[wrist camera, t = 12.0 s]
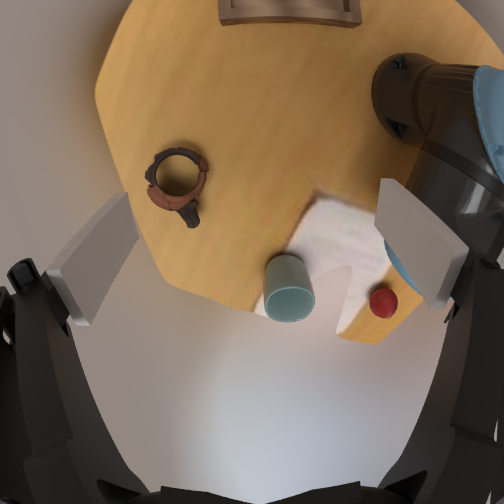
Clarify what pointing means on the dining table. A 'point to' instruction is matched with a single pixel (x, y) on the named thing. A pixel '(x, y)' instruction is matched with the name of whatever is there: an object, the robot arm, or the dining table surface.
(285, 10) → the tray
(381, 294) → the onion
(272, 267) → the cup
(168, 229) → the dining table surface
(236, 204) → the dining table surface
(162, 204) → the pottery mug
